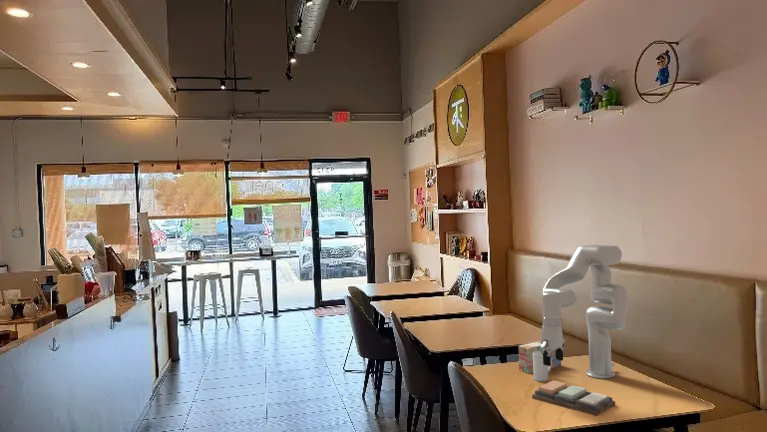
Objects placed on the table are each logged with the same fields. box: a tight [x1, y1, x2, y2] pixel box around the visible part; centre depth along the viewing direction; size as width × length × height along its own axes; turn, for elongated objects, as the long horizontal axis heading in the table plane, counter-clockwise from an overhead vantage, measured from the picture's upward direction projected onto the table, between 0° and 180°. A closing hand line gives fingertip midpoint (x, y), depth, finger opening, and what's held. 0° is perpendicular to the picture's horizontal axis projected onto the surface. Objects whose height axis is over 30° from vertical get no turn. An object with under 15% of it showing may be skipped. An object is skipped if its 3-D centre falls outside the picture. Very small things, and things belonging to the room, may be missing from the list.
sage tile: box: [559, 385, 587, 400], centre depth 223 cm, size 11×6×2 cm, turn 132°
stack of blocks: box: [517, 341, 562, 374], centre depth 269 cm, size 21×6×12 cm, turn 118°
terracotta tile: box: [538, 380, 567, 394], centre depth 230 cm, size 11×6×2 cm, turn 132°
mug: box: [532, 351, 552, 382], centre depth 253 cm, size 10×7×12 cm, turn 116°
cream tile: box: [580, 392, 609, 406], centre depth 217 cm, size 11×6×2 cm, turn 132°
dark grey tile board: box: [531, 385, 616, 417], centre depth 224 cm, size 15×28×3 cm, turn 42°
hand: (553, 362), depth 229 cm, fingers open, 9 cm apart
